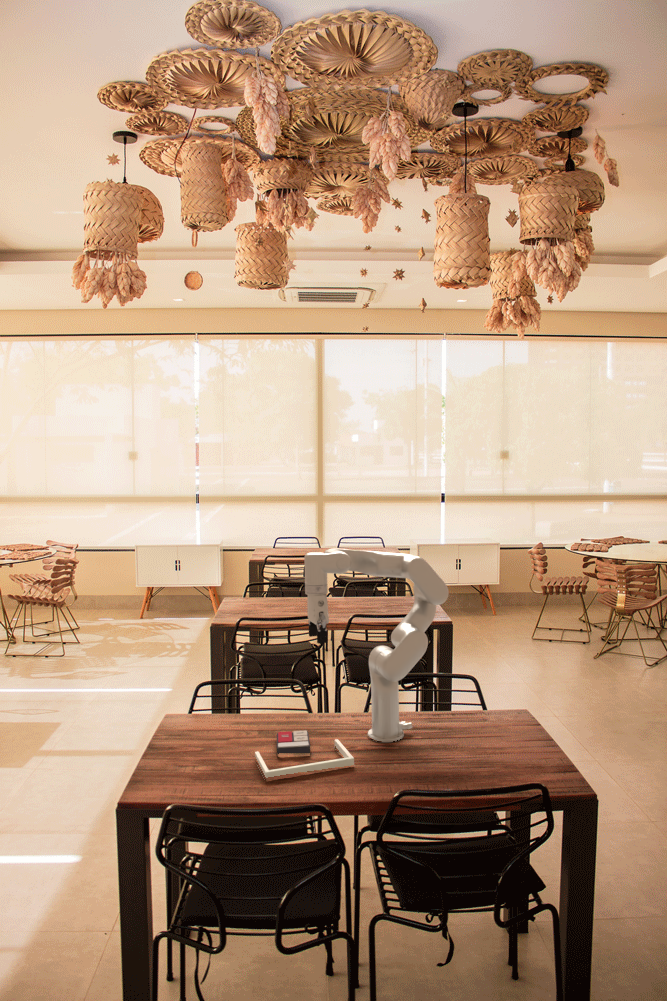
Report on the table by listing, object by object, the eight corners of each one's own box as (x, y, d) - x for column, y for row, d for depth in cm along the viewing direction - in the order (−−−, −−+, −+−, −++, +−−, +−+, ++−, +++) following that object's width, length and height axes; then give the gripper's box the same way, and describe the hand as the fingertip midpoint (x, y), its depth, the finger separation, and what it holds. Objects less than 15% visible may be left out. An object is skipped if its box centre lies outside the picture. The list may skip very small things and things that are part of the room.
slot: (338, 747, 240) (337, 739, 239) (354, 767, 224) (353, 758, 224) (255, 760, 231) (254, 751, 231) (266, 782, 216) (265, 772, 215)
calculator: (308, 729, 248) (310, 744, 233) (308, 741, 248) (310, 757, 233) (276, 730, 247) (276, 746, 232) (277, 743, 247) (277, 759, 232)
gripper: (335, 592, 231) (336, 644, 232) (319, 584, 247) (320, 632, 249) (312, 594, 229) (314, 647, 230) (298, 585, 245) (300, 634, 246)
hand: (317, 639), depth 239 cm, fingers open, 9 cm apart
